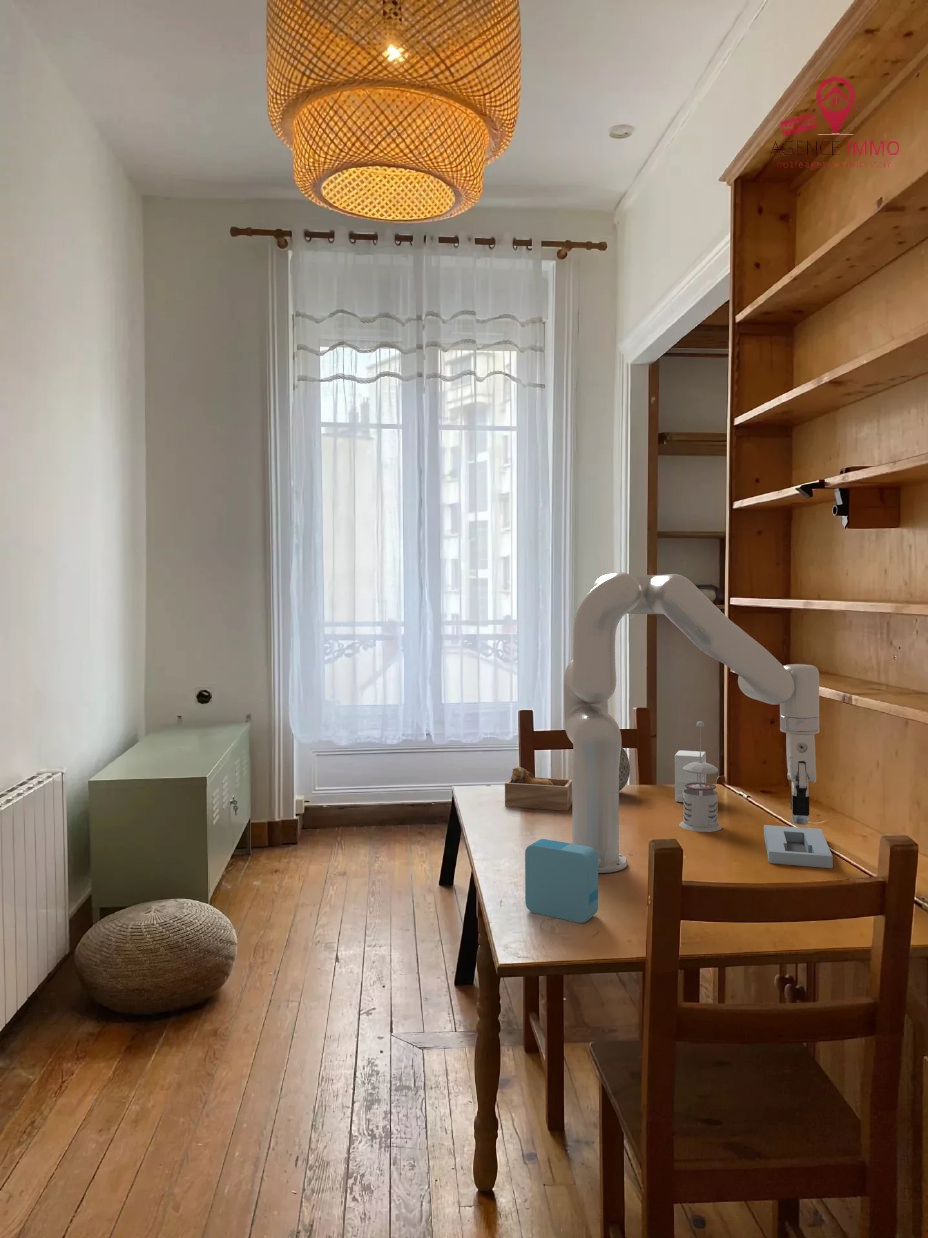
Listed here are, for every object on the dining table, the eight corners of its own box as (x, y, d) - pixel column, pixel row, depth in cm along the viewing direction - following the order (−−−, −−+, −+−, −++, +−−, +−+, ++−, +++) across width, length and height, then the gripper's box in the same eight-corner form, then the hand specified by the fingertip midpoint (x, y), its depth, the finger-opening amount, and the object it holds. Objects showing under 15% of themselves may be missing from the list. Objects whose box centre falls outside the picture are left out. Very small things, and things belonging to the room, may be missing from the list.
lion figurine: (507, 801, 220) (507, 768, 220) (515, 797, 225) (516, 764, 224) (559, 809, 213) (560, 774, 213) (566, 804, 218) (567, 770, 217)
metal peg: (813, 826, 169) (813, 776, 168) (788, 825, 170) (788, 775, 170) (811, 820, 173) (811, 771, 173) (786, 818, 175) (786, 770, 174)
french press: (678, 830, 194) (678, 723, 193) (680, 817, 205) (680, 716, 204) (722, 833, 191) (722, 725, 190) (721, 820, 202) (722, 717, 201)
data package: (598, 916, 143) (598, 847, 143) (588, 925, 139) (588, 854, 139) (536, 903, 149) (536, 837, 149) (524, 911, 145) (524, 843, 145)
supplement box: (706, 798, 224) (707, 751, 223) (702, 804, 217) (702, 756, 216) (679, 795, 227) (679, 749, 226) (674, 801, 220) (674, 754, 220)
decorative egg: (587, 788, 236) (587, 735, 235) (629, 789, 234) (629, 736, 234) (586, 798, 224) (586, 743, 224) (630, 799, 222) (630, 744, 222)
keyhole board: (832, 868, 166) (832, 856, 166) (768, 863, 170) (769, 851, 170) (820, 839, 186) (820, 829, 186) (763, 835, 189) (763, 825, 189)
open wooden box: (567, 810, 212) (567, 787, 212) (504, 806, 217) (504, 783, 217) (573, 802, 221) (573, 779, 220) (513, 798, 225) (513, 776, 225)
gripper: (824, 731, 162) (824, 825, 163) (814, 718, 178) (815, 804, 179) (783, 730, 164) (783, 822, 165) (777, 718, 180) (777, 802, 181)
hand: (799, 812), depth 172 cm, fingers closed on metal peg, 3 cm apart
